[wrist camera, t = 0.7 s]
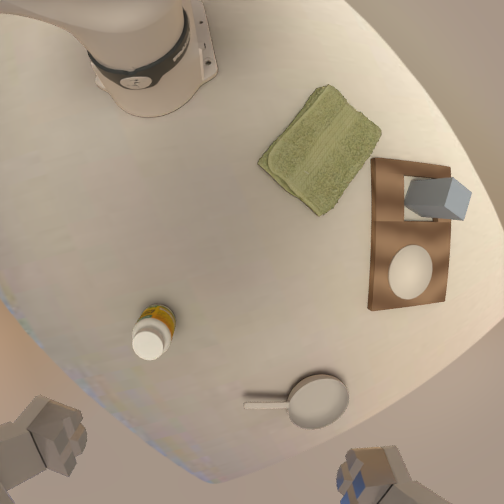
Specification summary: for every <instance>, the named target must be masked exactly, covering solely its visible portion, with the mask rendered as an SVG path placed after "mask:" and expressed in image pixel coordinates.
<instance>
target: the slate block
mask: <svg viewBox="0 0 504 504" xmlns="http://www.w3.org/2000/svg"><path fill="white" fill-rule="evenodd" d="M471 194H472V192H470V191H469V190H468V189H467V188H466V187H464V186H463V185H462V184H461V183H459V182H458V181H457V180H456V179H454V178H453V177H451V178H438V179H426V180H415V181H411V182H410V185H409V188H408V191H407V194H406V197H405V200H404V206H405V207H407V208H408V209H410V210H412V211H413V212H415V213H416V214H418V215H420V216H421V217H431V218H442V219H453V220H463V221H464V218H465V215H466V211H467V208H468V205H469V201H470V198H471Z"/></svg>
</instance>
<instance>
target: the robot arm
mask: <svg viewBox="0 0 504 504" xmlns="http://www.w3.org/2000/svg"><path fill="white" fill-rule="evenodd" d="M0 14H12V15H19V16H24V17H29V18H33V19H37V20H40V21H44V22H47V23H50V24H53V25H55V26H58V27H60V28H62V29H64V30H66V31H68V32H69V33H71V34H72V35H73V36H74V37H75V38H76V39H77V40H78V41H79V42H80V43H81V44H82V45H83V46H84V47H85V48H86V49H87V51H88V55H89V57H90V59H91V66H92V68H93V70H94V71H95V73H96V78H95V83H96V84H97V86H98V87H99V88H101V89H102V90H104V91H106V92H108V93H109V94H110V95H111V96H112V98H113V100H114V101H115V103H116V104H117V105H118V106H119V107H120V108H121V109H123V110H124V111H126V112H127V113H129V114H132V115H135V116H139V117H157V116H162V115H165V114H168V113H170V112H173V111H175V110H176V109H178V108H180V107H181V106H183V105H184V104H185V103H186V102H187V101H188V100H189V99H190V98H191V97H192V96H193V95H194V94H195V92H196V91H197V90H198V88H199V87H200V86H201V85H202V84H204V83H206V82H207V81H209V80H211V79H212V78H214V77H215V76H216V75H217V73H218V68H217V63H216V58H215V54H214V49H213V45H212V40H211V36H210V31H209V26H208V22H207V17H206V13H205V8H204V4H203V2H202V1H200V0H0ZM207 62H210V63H211V64H210V65H206V63H207ZM82 419H83V417H82V414H81V411H79V410H77V409H75V408H72V407H69V406H67V405H64V404H62V403H59V402H57V401H54V400H52V399H49V398H47V397H44V396H42V395H38V396H36V397H35V398H34V400H33V401H32V402H31V403H30V404H29V405H28V406H27V407H26V409H25V410H24V411H23V412H22V413H21V415H20V416H19V417H18V418H17V419H16V421H15V422H14V423H12V422H7V423H4V424H1V425H0V504H15V502H14V501H13V499H12V498H11V496H10V495H9V494H8V492H7V491H8V490H10V489H11V488H14V487H15V486H17V485H19V484H21V483H23V482H25V481H27V480H28V479H30V478H32V477H34V476H36V475H38V474H39V473H41V472H43V471H45V470H46V468H48V469H50V470H52V471H55V472H57V473H60V474H62V475H65V476H67V477H69V476H70V474H71V473H72V471H73V469H74V467H75V465H76V459H75V457H76V456H78V455H80V454H82V452H83V451H84V449H85V446H86V442H87V432H86V429H85V427H84V426H83V425H82V424H81V421H82ZM345 457H346V462H344V463H343V464H341V465H340V467H339V469H338V472H337V478H336V482H337V489H338V491H339V492H340V493H341V494H342V495H343V498H342V499H341V501H340V503H341V504H452V503H450V502H448V501H447V500H445V499H444V498H442V497H441V496H439V495H437V494H436V493H434V492H433V491H431V490H430V489H428V488H427V487H425V486H424V485H422V484H421V483H419V482H418V481H412V479H411V477H410V474H409V472H408V470H407V468H406V465H405V463H404V461H403V459H402V456H401V455H400V452H399V450H398V448H397V447H396V446H383V447H369V448H355V449H350V450H349V451H348V452H347V454H346V456H345Z"/></svg>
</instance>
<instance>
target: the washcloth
mask: <svg viewBox="0 0 504 504" xmlns="http://www.w3.org/2000/svg"><path fill="white" fill-rule="evenodd" d="M381 133H382V132H381V129H380V128H379V127H378V126H376V125H375V124H374V123H373V122H372V121H370V120H368V118H367V117H365V116H364V115H363V113H361V112H358V111H356V110H355V109H354V108H353V107H352V106H351V105H349V104H348V103H347V101H346V99H345V98H344V96H342V94H341V93H340V92H339V91H338V90H337V89H335V88H334V87H333V86H331V85H329V84H328V85H327V86H323V87H320V88H317V89H316V90H315V92H314V93H313V94H312V95H310V98H309V100H308V101H307V102H306V104H305V106H304V107H303V109H302V110H301V111H300V112H299V113H298V115H297V116H296V117H295V119H294V120H293V122H292V123H291V124H290V125H289V127H288V128H286V130H285V132H284V133H283V134H282V135H280V136H279V137H278V139H277V140H276V141H274V142H273V144H272V145H271V146H270V147H269V149H268V151H267V152H265V153H264V155H263V156H262V157H261V158H260V159H259V162H258V165H259V166H261V167H262V168H263V169H264V170H265V171H266V172H268V173H269V174H270V175H271V176H272V177H273V178H274V179H275V180H276V181H277V182H278V183H279V184H280V185H281V186H282V187H283V188H284V189H285V190H286V191H287V192H289V193H290V194H292V195H294V196H296V197H298V198H299V199H300V200H301V201H303V202H304V203H305V204H306V205H307V206H308V207H310V208H311V209H312V210H313V211H314V212H315V214H316V215H317V216H321V215H322V214H323V215H324V214H325V213H327V212H328V211H329V210H331V209H333V208H334V205H335V204H336V203H338V199H339V198H340V197H341V195H342V194H343V191H344V190H345V189H346V188H347V187H348V184H349V183H350V182H351V181H352V179H353V178H354V177H355V175H356V174H357V173H358V171H359V170H360V169H361V168H362V166H363V164H364V162H365V161H366V159H368V158H369V157H370V154H372V152H373V149H374V148H375V146H376V143H377V142H378V141H379V138H380V136H381V135H382V134H381Z"/></svg>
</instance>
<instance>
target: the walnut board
mask: <svg viewBox="0 0 504 504" xmlns="http://www.w3.org/2000/svg"><path fill="white" fill-rule="evenodd" d="M404 176H414V177H423V178H432V179H438V178H451V168H450V167H447V166H441V165H434V164H427V163H419V162H411V161H403V160H394V159H385V158H372V159H371V189H372V226H371V260H370V279H369V294H368V307H367V308H368V309H369V310H371V311H378V310H386V309H394V308H402V307H409V306H417V305H424V304H431V303H437V302H444V301H445V296H446V288H447V279H448V268H449V255H450V238H451V219H442V218H433V221H404ZM407 245H417V246H420V247H422V248H424V249H425V250H426V251H427V252H428V254H429V255H430V258H431V261H432V276H431V280H430V282H429V284H428V286H427V288H426V289H425V290H424V292H423V293H421V294H420V295H419V296H417V297H416V298H413V299H402V298H400V297H398V296H397V295H395V294H394V293H393V292H392V290H391V288H390V286H389V283H388V269H389V265H390V262H391V260H392V258H393V256H394V255H395V254H396V253H397V251H399V250H400V249H401V248H403V247H405V246H407Z"/></svg>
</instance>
